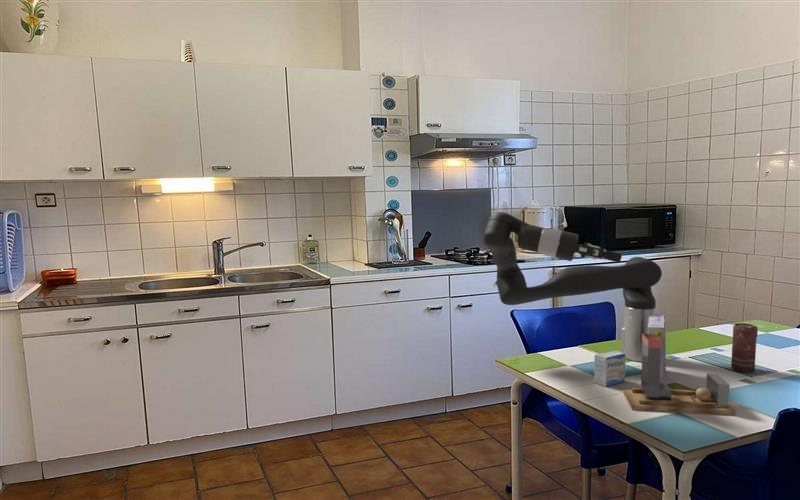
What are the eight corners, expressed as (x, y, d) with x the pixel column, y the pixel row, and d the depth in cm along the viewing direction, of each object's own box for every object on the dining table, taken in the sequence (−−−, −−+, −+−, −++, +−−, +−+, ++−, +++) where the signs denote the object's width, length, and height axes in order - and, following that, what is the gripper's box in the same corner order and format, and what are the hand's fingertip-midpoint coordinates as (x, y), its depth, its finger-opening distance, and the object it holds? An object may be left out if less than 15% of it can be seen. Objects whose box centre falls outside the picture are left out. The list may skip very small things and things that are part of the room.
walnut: (692, 400, 144) (693, 387, 143) (699, 397, 146) (700, 384, 145) (706, 404, 141) (707, 391, 140) (713, 401, 143) (714, 388, 142)
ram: (646, 400, 143) (648, 340, 141) (640, 391, 149) (642, 333, 147) (671, 401, 142) (673, 340, 140) (664, 392, 148) (666, 334, 146)
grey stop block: (717, 407, 139) (718, 384, 138) (706, 395, 147) (707, 373, 146) (728, 407, 138) (729, 384, 138) (716, 395, 146) (717, 373, 145)
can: (759, 373, 165) (761, 328, 164) (735, 372, 167) (738, 327, 165) (750, 367, 171) (753, 323, 170) (728, 366, 173) (730, 322, 171)
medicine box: (605, 387, 157) (606, 357, 156) (593, 382, 161) (594, 353, 160) (625, 382, 161) (625, 353, 160) (612, 377, 165) (613, 349, 164)
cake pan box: (647, 367, 173) (649, 311, 171) (665, 369, 171) (667, 313, 169) (645, 387, 156) (647, 326, 154) (665, 390, 154) (667, 328, 152)
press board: (632, 409, 141) (632, 401, 141) (623, 393, 152) (623, 386, 152) (734, 415, 137) (735, 406, 137) (718, 398, 148) (718, 390, 147)
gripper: (555, 257, 157) (615, 271, 152) (552, 257, 143) (617, 273, 138) (562, 231, 156) (622, 244, 151) (559, 229, 143) (625, 243, 138)
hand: (620, 258), depth 145 cm, fingers open, 8 cm apart
